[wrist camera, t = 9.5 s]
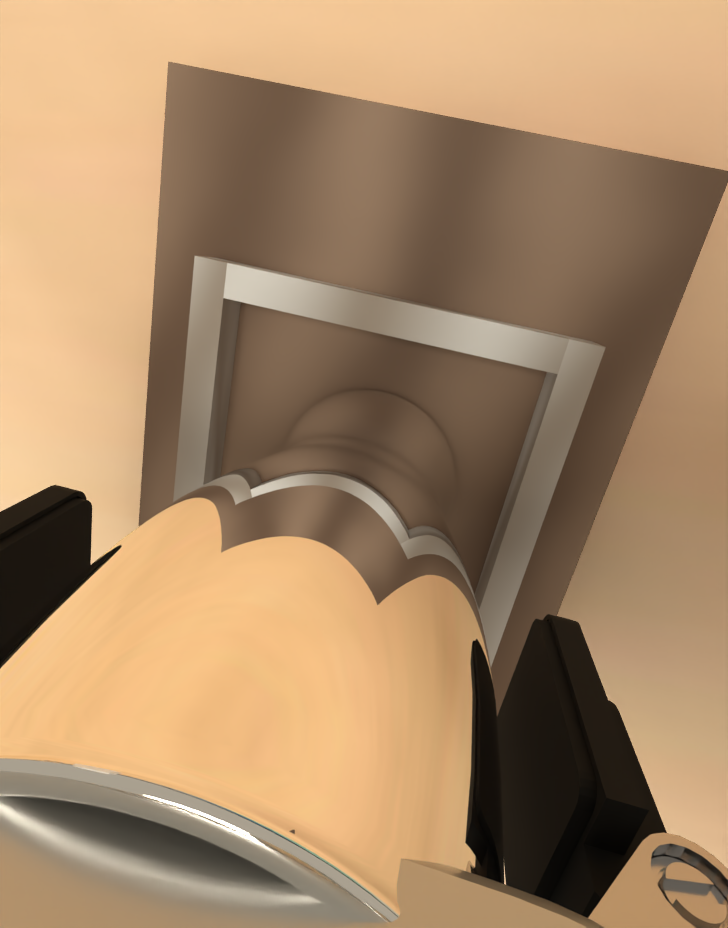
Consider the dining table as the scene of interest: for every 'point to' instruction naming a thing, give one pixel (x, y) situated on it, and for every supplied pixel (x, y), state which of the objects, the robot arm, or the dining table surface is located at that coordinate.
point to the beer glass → (280, 667)
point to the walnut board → (415, 307)
